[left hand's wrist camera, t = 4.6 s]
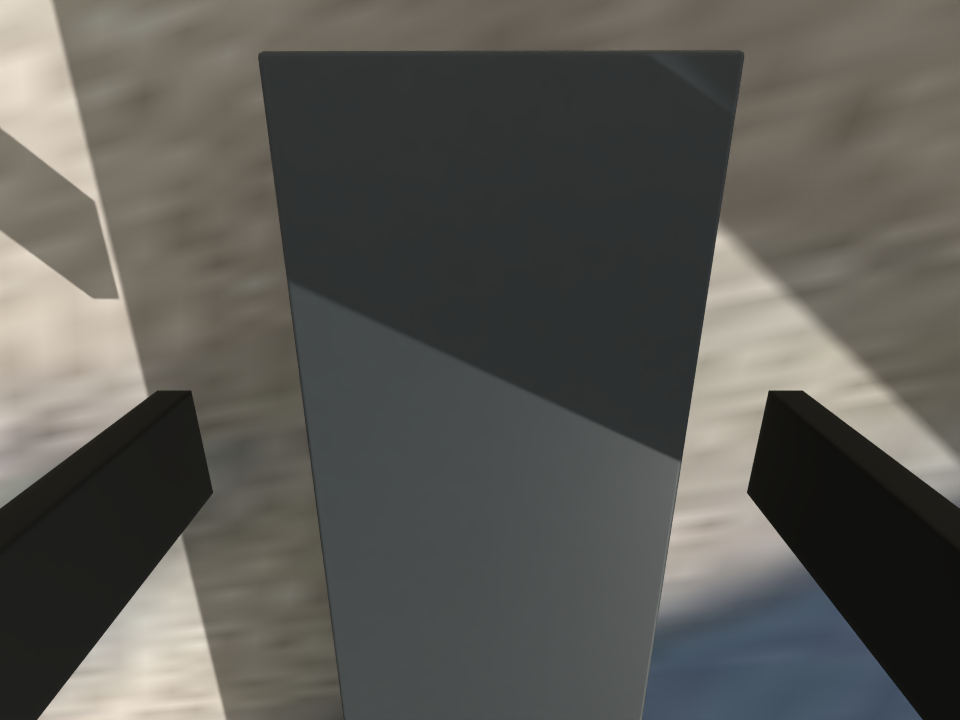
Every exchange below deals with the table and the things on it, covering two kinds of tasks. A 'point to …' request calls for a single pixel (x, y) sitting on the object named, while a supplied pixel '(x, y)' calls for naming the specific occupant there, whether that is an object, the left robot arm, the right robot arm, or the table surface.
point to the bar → (497, 358)
